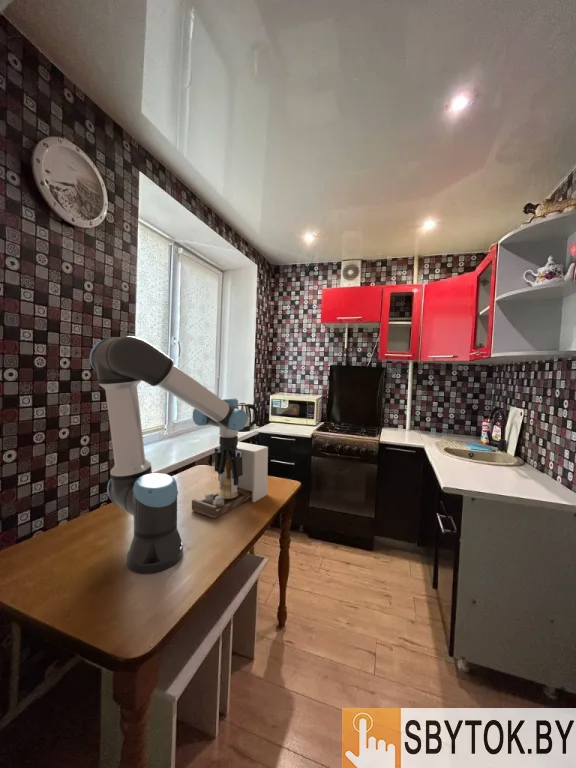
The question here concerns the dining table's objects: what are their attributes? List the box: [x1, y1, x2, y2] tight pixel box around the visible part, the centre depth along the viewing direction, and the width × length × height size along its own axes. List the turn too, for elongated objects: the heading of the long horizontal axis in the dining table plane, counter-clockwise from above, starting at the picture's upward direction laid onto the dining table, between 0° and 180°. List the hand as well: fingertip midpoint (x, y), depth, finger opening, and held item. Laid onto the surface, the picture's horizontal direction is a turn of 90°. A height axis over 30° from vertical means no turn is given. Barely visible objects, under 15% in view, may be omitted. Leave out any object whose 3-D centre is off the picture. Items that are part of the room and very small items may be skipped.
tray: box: [191, 490, 249, 519], centre depth 127 cm, size 20×12×5 cm, turn 149°
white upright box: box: [195, 441, 269, 519], centre depth 131 cm, size 29×18×22 cm, turn 149°
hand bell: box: [218, 458, 238, 499], centre depth 130 cm, size 8×8×16 cm
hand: (228, 490), depth 130 cm, fingers closed on hand bell, 6 cm apart
